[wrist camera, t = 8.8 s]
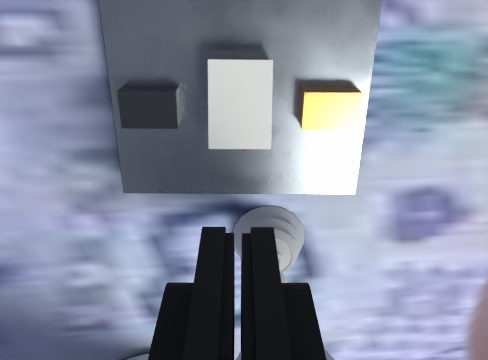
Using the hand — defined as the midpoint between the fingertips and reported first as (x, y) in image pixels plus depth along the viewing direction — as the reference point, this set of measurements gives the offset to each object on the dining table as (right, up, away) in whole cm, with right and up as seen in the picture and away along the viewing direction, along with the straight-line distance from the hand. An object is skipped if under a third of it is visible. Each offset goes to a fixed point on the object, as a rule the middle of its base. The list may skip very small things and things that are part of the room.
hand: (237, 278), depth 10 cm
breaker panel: (0, +7, +15) cm, 17 cm away
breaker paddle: (0, +6, +13) cm, 15 cm away
